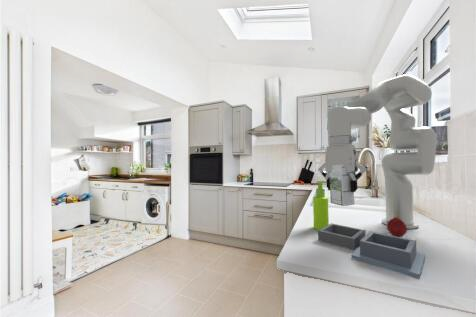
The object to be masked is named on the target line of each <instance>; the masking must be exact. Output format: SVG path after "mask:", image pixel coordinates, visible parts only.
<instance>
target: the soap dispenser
mask: <svg viewBox="0 0 476 317" xmlns="http://www.w3.org/2000/svg"><path fill="white" fill-rule="evenodd" d="M316 183H317V188H315V193H316V194H315V196H313V197H312V201H313V202H312V204H313V207H312V208H313V229H315V230H316V231H318V230H320V229H322V228H324V227H325V226H327V225H329V224H330V223H329V221H330V220H329V198H328V197H327V196H325V195H326V194H325V191H326V190H325V188H324V187H323V184H327V180H317V181H316Z"/></svg>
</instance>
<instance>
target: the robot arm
mask: <svg viewBox="0 0 476 317" xmlns="http://www.w3.org/2000/svg"><path fill="white" fill-rule="evenodd" d="M432 96H433V94H432V89H431V87H430V86H429V85H428V84H427V83H426V82H424V80H423V81H422V80H421V79H419V77H416V76H414V75H412V74H402V75H399V76H395V77H393V78H392V77H391V78H390V79H386V80H384V81H381V82H379V83H378V84H376V85H375V86H374V87H373V88H371V89H370V90H369V91H367V92H366V93H364V94H363V95H362V96H359V97H358V98H356V99H354V100H352V101H350V102H349V103H347V104H345V105H343V106H335V107H332V108H330V109H328V110H327V112H326V113H327V115H326V118H327V136H328V137H327V138H328V140H327V141H328V142H327V143H328V146H326V148H325V155H324V156H325V158H324V163H323V164H322V165H321V166H319V168H317V171H318V172H319V173H320V174H321V176H322V177H324V179H325V181H327V183H326V188H327V190H328V191H330V176H329V173H330V172H332V167H333V165H342V164H344V166H345V172H346V173H349V175H350V177H351V178H352V181H351V192H354V193H355V192H356V191H357V190H358V181H359V179H360V178H361V177H363V175H364V174H365V173H366V172H367V170H368V168H366V167H365V165H364V166H363V165H362V164H361V163H359V162H358V156H357V150H356V146H355V144H353V142H356V141H357V137H355V136H352V130H354V129H355V130H356V129H360V128H364V127H365V126H367V125H369V123H370V122H371V120H372V115H373V114H374V113H377V112H379V111H380V110H381V109H383V108H384V109H385V111H386V112H387V115H388V116H389V118H390V121H391V122H390V123H391V125H390V131H389V132H390V133H389V139H388V140H389V141H388V146H389V148H390V149H391V150H393V151H399V152H392V153H388V154H387V153H386V154H385V156H384V157H382V159H381V167H382V171H383V176H384V187H385V189H384V192H385V218H382V220H381V222H382V223H383V224H384V225H386V226H387V223H388V222H389V221H390V220H391V219H393V218H394V217H395V216H397V217H398V218H399V219H400V220H402V221H403V222H404V223H405V225H406V227H407V230H408V229H409V230H411V229H412V230H413V229H418V228H419V224H418V223H417V222H416V221H414V202H413V201H414V199H413V198H414V196H413V195H414V194H413V193H414V192H413V190H414V189H413V184H412V182H411V180H410V179H409V178H408V177H407V176H410V175H411V176H428V175H430V174H431V173H433V171H434V169H435V168H434V167H435V161H436V154H437V142H438V138H437V133H436V132H435V130H434V129H433V128H432V127H429V126H420V127H415V126H416V118H415V116H414V115H413V114H412V113H410V111H408V110H407V108H412V107H418V106H422V105H425V104H427V103H428V102H429V101H430V100H431V99H432ZM401 151H408V152H401ZM410 151H412V152H410ZM413 151H414V152H413ZM356 172H358V173H356Z"/></svg>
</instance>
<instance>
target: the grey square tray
mask: <svg viewBox="0 0 476 317" xmlns="http://www.w3.org/2000/svg"><path fill="white" fill-rule="evenodd" d="M365 236H366V229H361V228H357V227H351V226H345V225H341V224H337V223H329V225H327V226H325V227H324V228H322V229H320V230H317V241H320V242H323V241H324V242H323V243H326V242H327V244H331V245H335V246H339V247H341V248H345V249H349V250H352V251H356V250H357V249H358V248H359V247H360V240H361V239H362V238H364V237H365Z"/></svg>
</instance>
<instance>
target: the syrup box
mask: <svg viewBox="0 0 476 317" xmlns="http://www.w3.org/2000/svg"><path fill="white" fill-rule="evenodd" d="M329 176H330V190H329V191H330V192H329V194H330V196H329V197H330V203H331V204H333V205H337V206H341V207H347V206H354V205H355V192H351V181H352V178H351V177H350V175H349V173H346V172H345V166H344V164H342V165H333V167H332V172H330V173H329Z"/></svg>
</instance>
